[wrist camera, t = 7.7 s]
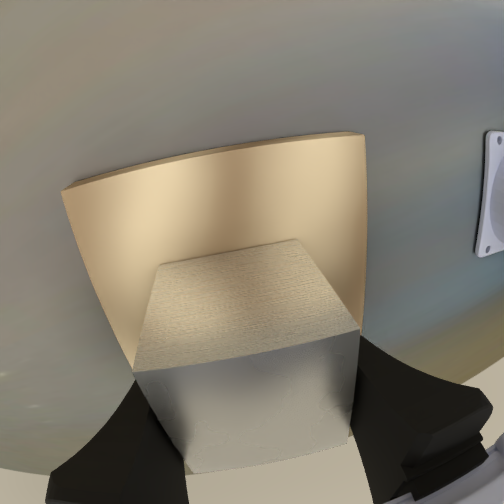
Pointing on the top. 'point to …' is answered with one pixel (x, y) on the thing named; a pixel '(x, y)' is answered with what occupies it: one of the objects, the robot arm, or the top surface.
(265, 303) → the wood-grain grey cube
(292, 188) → the tan square panel
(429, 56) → the top surface
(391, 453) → the robot arm
